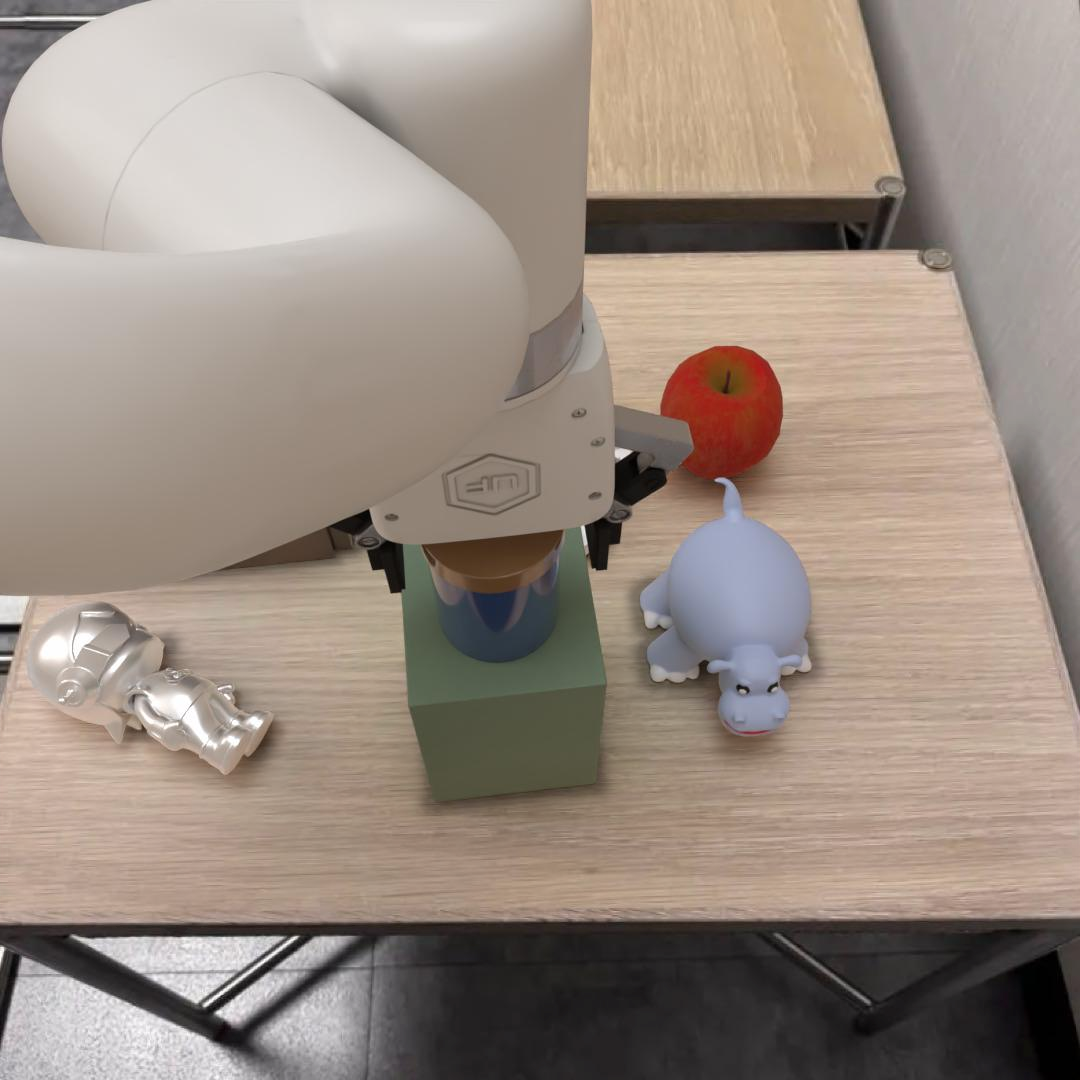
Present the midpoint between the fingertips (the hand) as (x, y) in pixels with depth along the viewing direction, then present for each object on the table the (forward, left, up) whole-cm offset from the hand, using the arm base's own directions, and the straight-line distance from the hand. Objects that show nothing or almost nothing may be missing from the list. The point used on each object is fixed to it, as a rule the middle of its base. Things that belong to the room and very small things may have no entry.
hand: (496, 555), depth 52 cm
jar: (0, 0, -5) cm, 5 cm away
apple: (+17, +18, -20) cm, 32 cm away
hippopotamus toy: (+15, +3, -20) cm, 25 cm away
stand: (0, 0, -20) cm, 20 cm away
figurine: (-22, +3, -20) cm, 30 cm away
